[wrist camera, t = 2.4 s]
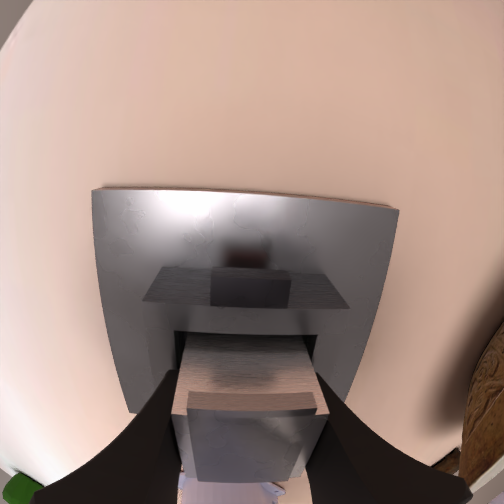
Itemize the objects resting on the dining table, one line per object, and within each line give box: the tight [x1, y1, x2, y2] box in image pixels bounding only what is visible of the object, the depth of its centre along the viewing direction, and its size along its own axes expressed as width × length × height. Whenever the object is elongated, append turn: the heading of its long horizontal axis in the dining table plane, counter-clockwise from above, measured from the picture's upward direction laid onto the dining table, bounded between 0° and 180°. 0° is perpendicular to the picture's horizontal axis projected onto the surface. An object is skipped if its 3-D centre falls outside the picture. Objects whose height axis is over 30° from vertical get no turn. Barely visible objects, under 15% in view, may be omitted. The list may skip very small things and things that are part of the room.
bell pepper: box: [2, 473, 44, 504], centre depth 18 cm, size 8×8×10 cm
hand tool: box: [433, 448, 461, 475], centre depth 23 cm, size 19×4×5 cm, turn 131°
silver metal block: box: [171, 331, 330, 483], centre depth 10 cm, size 5×4×6 cm
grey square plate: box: [92, 187, 399, 414], centre depth 12 cm, size 13×13×4 cm
